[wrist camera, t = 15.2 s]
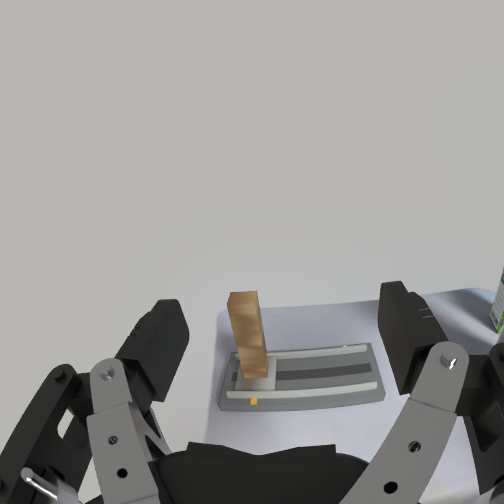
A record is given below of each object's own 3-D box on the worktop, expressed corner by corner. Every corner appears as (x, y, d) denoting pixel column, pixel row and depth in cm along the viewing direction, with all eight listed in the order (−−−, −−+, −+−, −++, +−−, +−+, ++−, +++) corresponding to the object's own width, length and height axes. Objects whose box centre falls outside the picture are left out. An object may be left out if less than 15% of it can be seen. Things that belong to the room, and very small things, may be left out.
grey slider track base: (369, 349, 38) (371, 338, 37) (383, 400, 29) (386, 390, 28) (233, 359, 41) (230, 348, 40) (221, 410, 32) (217, 400, 31)
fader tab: (277, 359, 38) (266, 282, 33) (274, 391, 32) (262, 312, 27) (242, 360, 38) (225, 284, 34) (236, 391, 33) (214, 314, 28)
